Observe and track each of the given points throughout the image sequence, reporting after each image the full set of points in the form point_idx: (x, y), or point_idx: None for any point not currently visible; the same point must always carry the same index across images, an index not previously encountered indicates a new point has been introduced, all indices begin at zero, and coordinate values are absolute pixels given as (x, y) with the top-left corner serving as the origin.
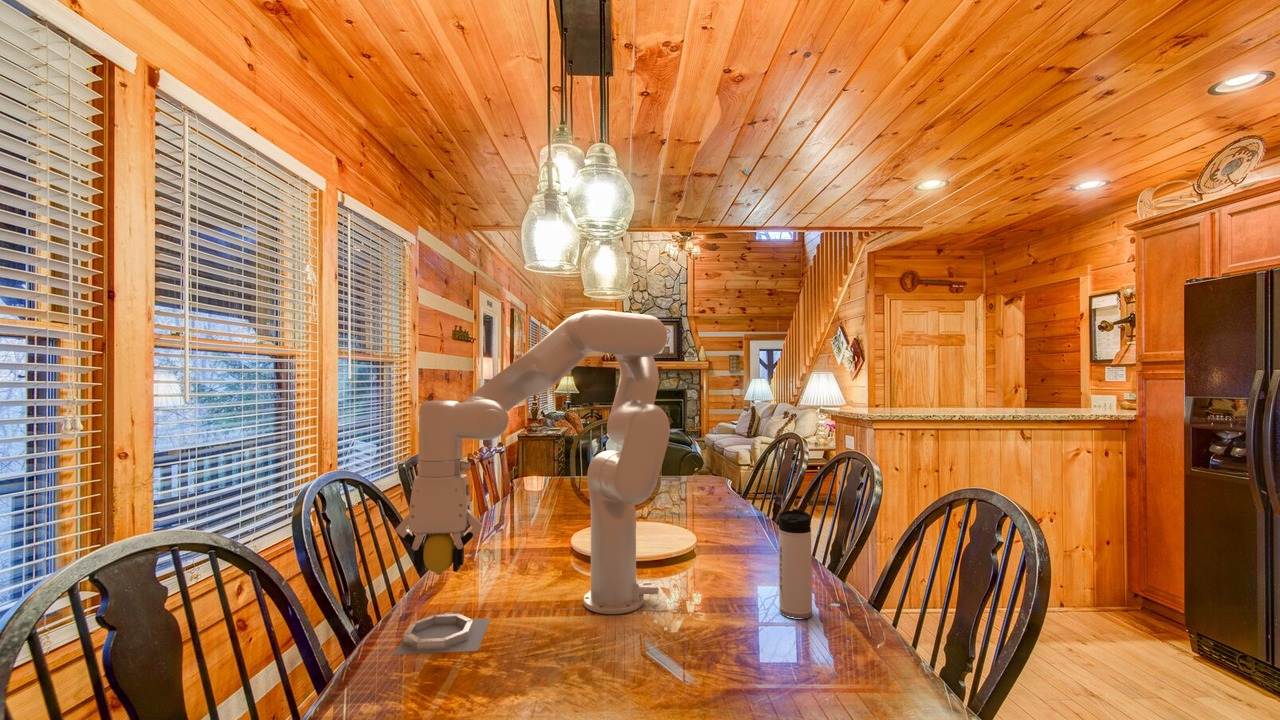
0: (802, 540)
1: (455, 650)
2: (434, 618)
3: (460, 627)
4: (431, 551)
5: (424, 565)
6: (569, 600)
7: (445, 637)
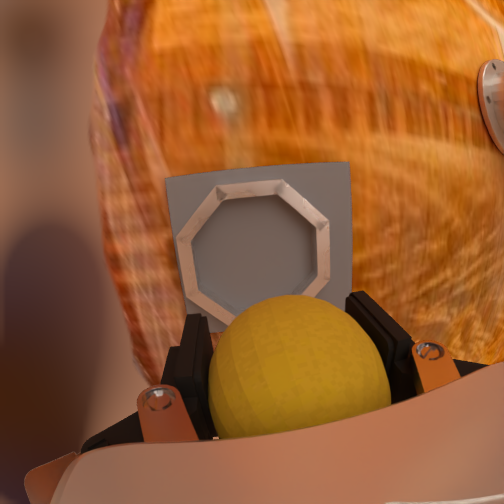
0: None
1: None
2: (222, 200)
3: (291, 211)
4: None
5: (209, 341)
6: (456, 74)
7: None
